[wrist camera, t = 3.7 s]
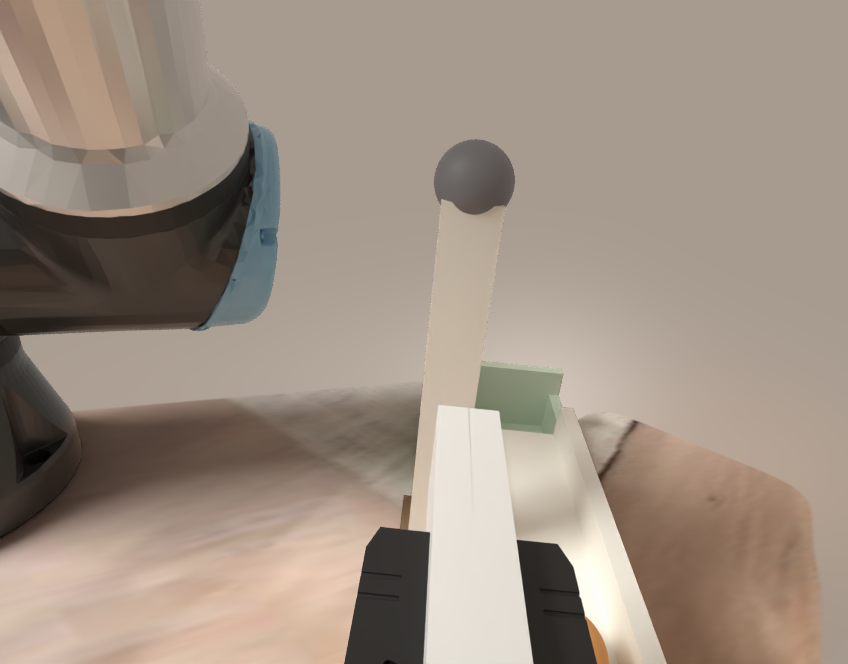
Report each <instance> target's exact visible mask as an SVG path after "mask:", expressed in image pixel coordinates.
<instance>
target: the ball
mask: <svg viewBox="0 0 848 664" xmlns="http://www.w3.org/2000/svg"><path fill="white" fill-rule="evenodd" d="M585 619H586V620H587V624H588V628H589V632H590V636H591V640H592V644H593V649H594V653H595V657H596V661H597V664H609V659H608V653H607V649H606V646H605V643H604V641H603V638H602V636H601V634H600V633H599V631H598V630H597V628H596V627H595V625H594V624H593V623H592V622H591V621H590V620H589V619H588V618H587V617H586V616H585Z"/></svg>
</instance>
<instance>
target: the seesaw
mask: <svg viewBox="0 0 848 664" xmlns="http://www.w3.org/2000/svg"><path fill="white" fill-rule="evenodd" d="M514 184H515V176H514V170H513V167H512V164H511V162H510V160H509V158H508V156H507V155H506V154H505V153H504V152H503V151H502V150H501V149H500V148H499V147H498V146H496V145H495V144H492V143H490V142H488V141H484V140H477V139H475V140H467V141H463V142H461V143H458V144H456V145H455V146H453V147H452V148H451V149H449V150H448V151H447V152H446V153H445V154H444V155H443V157H442V158H441V160H440V161H439V163H438V166H437V168H436V172H435V177H434V188H435V193H436V196H437V199H438V201H439V203H440V205H441V208H440V218H439V228H438V238H437V248H436V259H435V269H434V278H433V289H432V298H431V308H430V318H429V329H428V339H427V348H426V358H425V368H424V378H423V388H422V398H421V408H420V418H419V428H418V438H417V448H416V458H415V468H414V478H413V488H412V498H411V508H410V518H409V528H408V530H414V531H423V532H426V519H427V503H428V488H429V480H430V471H431V463H432V454H433V446H434V437H435V429H436V420H437V412H438V405H445V406H455V407H465V408H475V402H476V395H477V389H478V382H479V376H480V369H481V362H482V356H483V349H484V343H485V336H486V329H487V323H488V317H489V310H490V304H491V297H492V290H493V284H494V278H495V271H496V265H497V257H498V252H499V245H500V239H501V232H502V225H503V219H504V212H505V207H506V206H507V204H508V203H509V201H510V199H511V197H512V194H513V191H514ZM501 430H502V437H503V444H504V452H505V459H506V466H507V474H508V481H509V489H510V496H511V503H512V511H513V518H514V525H515V533H516V540H525V541H535V542H544V543H554V544H558V545H559V547H560V548H561V549H562V551H563V552H564V554H565V555H566V557H567V558H568V560H569V561H570V562H571V564H572V565H573V567H574V571H575V575H576V579H577V583H578V587H579V591H580V598H581V600H582V604H583V608H584V612H585V616H586V617H587V618H588V619H589V620H590V621H591V622H592V623H593V624H594V625H595V627H596V628H597V630H598V631H599V633H600V634H601V636H602V638H603V641H604V643H605V646H606V649H607V653H608V659H609V664H667V663H666V660H665V657H664V654H663V652H662V649H661V646H660V643H659V641H658V638H657V635H656V633H655V630H654V627H653V624H652V622H651V619H650V616H649V613H648V611H647V608H646V605H645V603H644V600H643V597H642V594H641V592H640V589H639V586H638V583H637V581H636V578H635V575H634V573H633V570H632V567H631V564H630V562H629V559H628V556H627V553H626V551H625V548H624V545H623V543H622V540H621V537H620V534H619V532H618V529H617V526H616V523H615V521H614V518H613V515H612V512H611V510H610V507H609V504H608V502H607V499H606V496H605V493H604V491H603V488H602V485H601V482H600V480H599V477H598V474H597V472H596V469H595V466H594V463H593V461H592V458H591V455H590V452H589V450H588V447H587V444H586V442H585V439H584V436H583V433H582V431H581V428H580V425H579V422H578V420H577V417H576V414H575V412H574V409H573V408H565V407H560V408H559V413H558V417H557V421H556V425H555V429H554V434H544V433H534V432H524V431H514V430H504V429H501Z"/></svg>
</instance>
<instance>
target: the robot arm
mask: <svg viewBox="0 0 848 664" xmlns="http://www.w3.org/2000/svg"><path fill="white" fill-rule="evenodd" d="M207 60H208V59H207V51H206V43H205V35H204V27H203V19H202V10H201V2H200V0H0V537H1V536H3V535H4V534H6V533H8V532H9V531H11V530H13V529H14V528H16V527H18V526H19V525H21V524H22V523H24V522H25V521H27V520H28V519H29V518H31V517H32V516H34V515H35V514H36V513H38V512H39V511H40V510H41V509H43V508H44V507H45V506H46V505H47V504H48V503H50V502H51V501H52V500H53V499H54V498H55V497H56V496H57V495H58V494H59V493H60V492H61V491H62V490H63V488H64V487H65V486H66V485H67V484H68V482H69V481H70V480H71V478H72V477H73V475H74V473H75V471H76V470H77V467H78V465H79V462H80V459H81V453H82V447H81V442H80V438H79V434H78V430H77V426H76V422H75V419H74V417H73V414H72V412H71V411H70V409H69V408H68V406H67V405H66V404H65V403H64V402H63V400H62V399H61V397H60V396H59V395H58V394H57V392H56V391H55V390H54V389H53V387H52V386H51V385H50V383H49V382H48V381H47V380H46V378H45V377H44V376H43V375H42V373H41V372H40V371H39V370H38V368H37V367H36V366H35V364H34V363H33V362H32V361H31V359H30V358H29V357H28V356H27V354H26V353H25V351H24V350H23V347H22V344H21V341H20V337H19V336H21V335H39V334H62V333H85V332H106V331H128V330H129V331H131V330H132V331H133V330H165V329H166V330H167V329H191V330H193V331H202V330H206V329H209V328H210V327H213V326H224V325H234V324H244V323H247V322H250V321H252V320H254V319H255V318H257V317H258V316H259V315H260V314H261V313H262V312H263V311H264V309H265V307H266V306H267V303H268V301H269V298H270V294H271V291H272V286H273V281H274V275H275V268H276V260H277V247H278V245H277V237H276V234H277V231H278V223H279V216H280V168H279V157H278V148H277V144H276V140H275V137H274V135H273V133H272V132H271V131H270V130H269V129H267V128H265V127H263V126H259V125H256V124H255V123H253V122H251V121H248V117H247V112H246V109H245V106H244V104H243V101H242V99H241V97H240V95H239V93H238V91H237V90H236V89H235V87H234V86H233V85H232V83H231V82H230V81H229V80H228V79H227V78H226V77H225V76H224V75H223V74H222V73H221V72H219V71H218V70H217V69H216V68H214V67H213V66H212V65H210V64H209V63H208V61H207ZM344 664H597V661H596V657H595V653H594V649H593V644H592V640H591V636H590V632H589V628H588V624H587V620H586V619H585V612H584V608H583V604H582V600H581V598H580V591H579V587H578V583H577V579H576V575H575V571H574V567H573V565H572V564H571V562H570V561H569V560H568V558H567V557H566V555H565V554H564V552H563V551H562V549H561V548H560V547H559V545H558V544H554V543H544V542H535V541H525V540H516V533H515V525H514V518H513V511H512V503H511V496H510V489H509V481H508V474H507V466H506V459H505V452H504V444H503V437H502V430H501V422H500V415H499V411H494V410H484V409H474V408H465V407H455V406H445V405H438V412H437V420H436V429H435V437H434V446H433V454H432V463H431V471H430V480H429V488H428V503H427V519H426V532H423V531H414V530H404V529H394V528H385V527H380V528H379V530H378V531H377V533H376V534H375V535H374V537H373V538H372V539H371V541H370V542H369V544H368V545H367V546H366V551H365V556H364V561H363V567H362V573H361V577H360V583H359V588H358V595H357V599H356V604H355V609H354V615H353V620H352V625H351V631H350V636H349V641H348V647H347V652H346V657H345V663H344Z"/></svg>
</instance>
